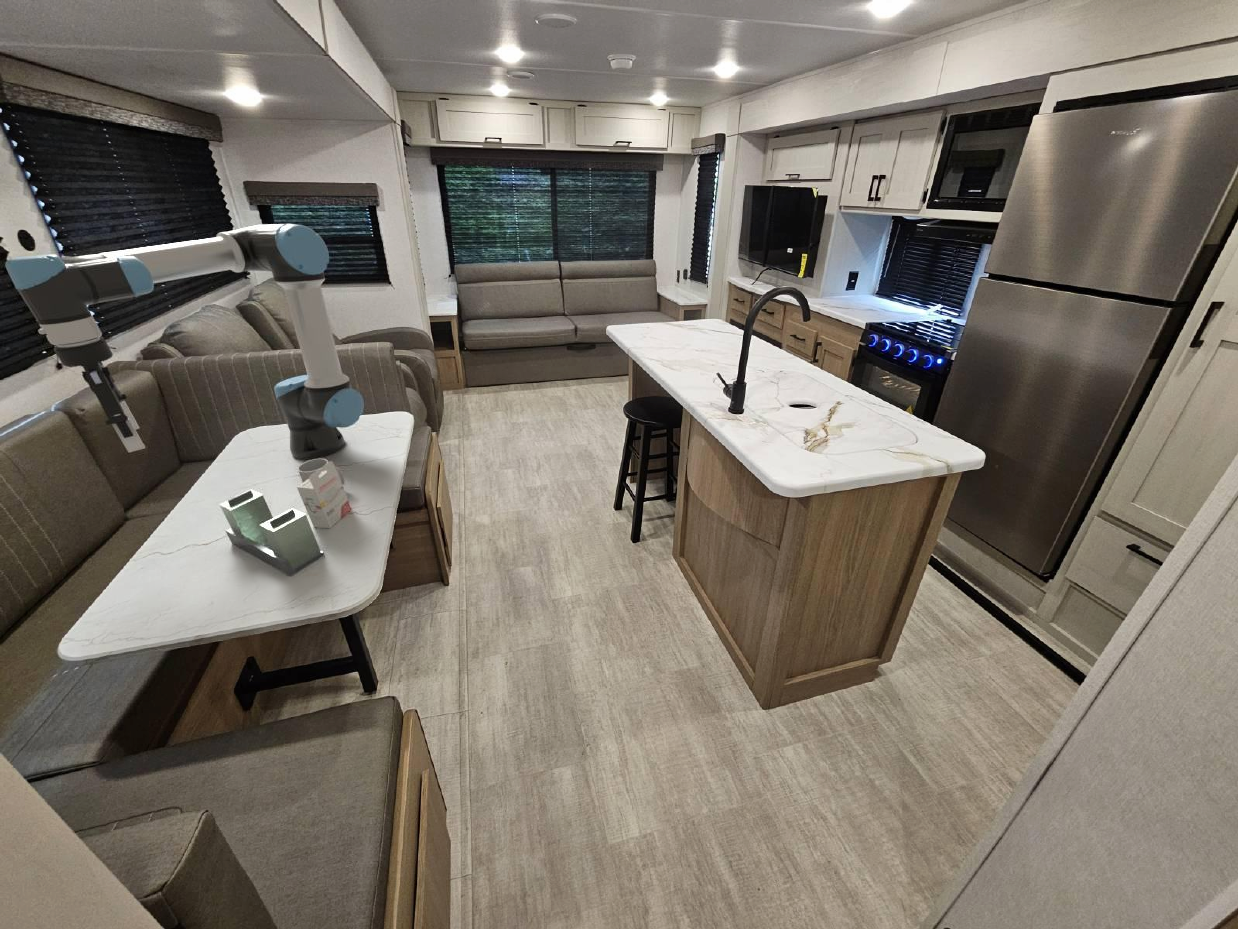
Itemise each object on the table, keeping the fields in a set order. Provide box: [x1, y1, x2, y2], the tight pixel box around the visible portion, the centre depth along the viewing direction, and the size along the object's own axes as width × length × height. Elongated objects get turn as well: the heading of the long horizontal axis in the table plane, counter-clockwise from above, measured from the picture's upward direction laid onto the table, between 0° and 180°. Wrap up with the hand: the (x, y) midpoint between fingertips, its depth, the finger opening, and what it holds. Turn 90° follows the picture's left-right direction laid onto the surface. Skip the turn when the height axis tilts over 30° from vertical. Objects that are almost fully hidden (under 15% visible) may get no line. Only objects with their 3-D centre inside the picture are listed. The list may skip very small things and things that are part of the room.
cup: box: [297, 458, 345, 486], centre depth 140 cm, size 7×10×9 cm
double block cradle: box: [219, 489, 325, 577], centre depth 118 cm, size 8×24×12 cm, turn 59°
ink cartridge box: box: [296, 460, 352, 529], centre depth 128 cm, size 9×5×15 cm, turn 168°
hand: (134, 439), depth 111 cm, fingers open, 13 cm apart
